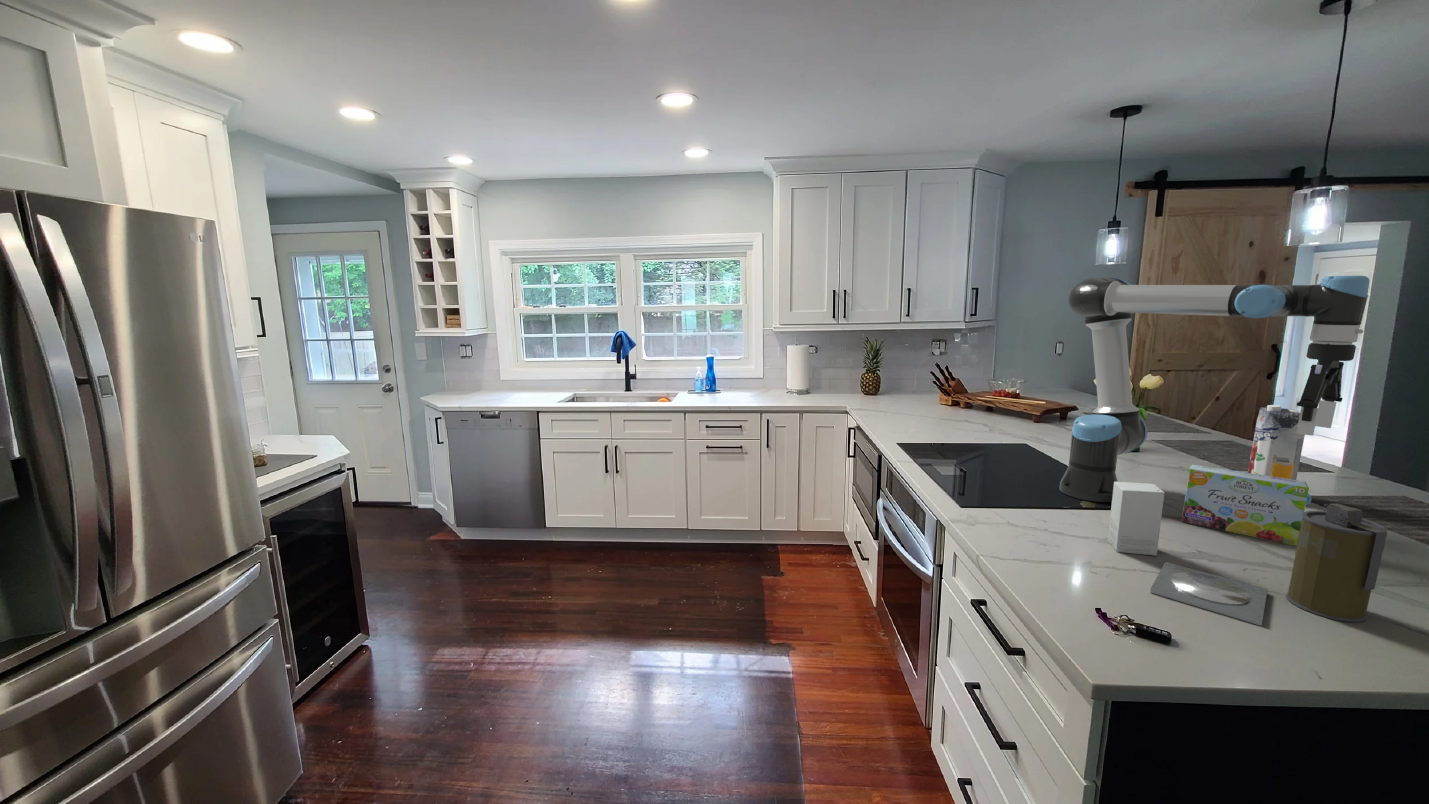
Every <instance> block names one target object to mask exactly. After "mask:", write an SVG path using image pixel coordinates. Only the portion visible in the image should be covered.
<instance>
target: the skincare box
mask: <svg viewBox="0 0 1429 804" xmlns="http://www.w3.org/2000/svg"><path fill="white" fill-rule="evenodd" d="M1165 494H1166V493H1165V491H1163V489H1161V488H1159V487H1158V486H1157V485H1156V484H1154V483H1143V482H1130V481H1129V482H1128V481H1127V482H1126V481H1118V482H1114V487H1113V497H1112V502H1111V506H1110V507H1111V509H1110V517H1109V526H1108V534H1107V542H1108V543H1109V544H1110V546H1111V547H1112V548H1113V549H1114V551H1115V552H1116V553H1123V554H1124V553H1126V554H1135V555H1144V556H1146V555H1147V556H1148V555H1149V556H1157V555H1158V548H1159V541H1160V532H1161V523H1162V514H1163V508H1164V501H1165Z"/></svg>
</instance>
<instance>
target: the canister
mask: <svg viewBox="0 0 1429 804" xmlns="http://www.w3.org/2000/svg"><path fill="white" fill-rule="evenodd" d="M1323 507H1324V508H1325V507H1327V508H1326V511H1324V510H1307V511H1306V510H1305V511H1304V512H1303V513H1302V517H1303V519H1302V524H1301V529H1300V534H1299V539H1298V543H1297V546H1296V549H1295V555H1294V560H1293V566H1292V570H1291V577H1290V582H1289V585H1288V590H1287V592H1286V594H1285V597H1286V599H1287V601H1289V602H1290V604H1293V605H1294V606H1296V607H1297V608H1299V609H1302V610H1304V611H1305V612H1308V613H1311V614H1314V615H1317V616H1319V617H1322V618H1326V619H1330V620H1334V621H1342V622H1349V623H1361V622H1364V621H1367V618H1368V614H1367V612H1368V606H1369V603H1370V597H1371V593H1372V590H1373V591H1374V590H1375V588H1376V584H1377V579H1378V575H1379V571H1380V566H1381V563H1382V562H1381V561H1382V557H1383V553H1384V549H1385V548H1384V547H1385V544H1386V540H1387V537H1388V535H1387V534H1388V533H1387V529H1386V527H1384V526H1383V525H1382V524H1379V523H1377V522H1375V521H1372V520H1369V519H1366V518H1363V510H1362V509H1359V508H1356V507H1350V506H1347V505H1344V504H1341V503H1325V504H1323Z"/></svg>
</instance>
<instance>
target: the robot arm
mask: <svg viewBox="0 0 1429 804" xmlns="http://www.w3.org/2000/svg"><path fill="white" fill-rule="evenodd" d="M1370 281H1371V280H1370V278H1369V276H1366V275H1326V276H1324V277H1322V279H1321V281H1320V282H1319V283H1318V284H1310V285H1309V284H1306V285H1305V284H1240V285H1239V284H1131V283H1129V282H1128V281H1126V280H1124V279H1120V278H1117V277H1101V278H1099V277H1091V278H1086V279H1083V280H1082V281H1079V282H1078V283H1077V284H1075V285H1074V286H1073V287H1072V289H1071V290H1070V291H1069V294H1068V306H1069V308H1070V309H1071V310H1072V312H1073V313H1074V314H1076V315H1077V316H1080V317H1083V318H1084V324H1085V326H1086V327H1087V328H1089V329H1090V330H1091V338H1092V349H1093V363H1094V371H1095V382H1096V383H1095V385H1096V396H1097V407H1096V408H1095V409H1094V410H1092V414H1084V415H1080V416H1078V417H1076V418H1075V420H1074V421H1073V425H1072V428H1071V438H1070V439H1071V440H1070V451H1069V459H1068V461H1069V462H1068V466H1067V468H1066V470H1065V472H1064V474H1063V476H1062V478H1061V479H1060V482H1059V491H1060V492H1061V493H1063V494H1064V495H1066V496H1069V497H1071V498H1075V499H1077V500H1084V501H1090V502H1097V503H1112V497H1113V487H1114V482H1119V481H1118V477H1117V474H1116V469H1117V464H1118V463H1117V462H1118V456H1120V455H1122V454H1128V453H1131V452H1134V451H1135V450H1137V449H1139V448H1140V447H1142V446H1143V444H1144V443H1146V440H1147V438H1148V427H1147V425H1146V423H1145V421H1144V420H1143V419H1141V417H1140V416H1141V415H1140V409H1139V408H1138V407H1137V406H1135V405H1134V404H1133V395H1132V386H1131V385H1132V384H1131V374H1130V373H1131V371H1130V361H1129V360H1130V359H1129V349H1128V338H1127V327H1126V326H1127V325H1128V324H1129V323H1130V322H1131V321H1132V314H1135V313H1136V314H1159V315H1160V314H1161V315H1162V314H1163V315H1183V316H1184V315H1186V316H1187V315H1188V316H1190V315H1192V316H1217V317H1237V318H1239V317H1241V318H1251V319H1265V318H1270V317H1313V322H1312V326H1311V331H1310V335H1309V341H1312V342H1310V343H1309V344H1308V346H1307V352H1306V355H1305V356H1306V358H1307V359H1309V360H1317V362H1316V364H1312V365H1311V366H1310V371H1309V375H1308V377H1307V380H1306V383H1305V385H1304V388H1303V392H1302V395H1301V397H1300V398H1299V399H1300V400H1299V401H1297V403H1296V407H1300V412H1299V413H1300V416H1299V421H1298V426H1297V431H1296V433H1298V434H1305V436H1306V435H1307V436H1311V437H1312V436H1314V433H1315V429H1316V427H1317V428H1318V427H1319V428H1324V429H1325V428H1327V429H1331V428H1332V426H1333V421H1334V416H1335V413H1336V412H1335V411H1336V407H1337V403H1339V402H1340V403H1342V401H1343V397H1342V395H1341V394H1342V379H1343V369H1344V365H1345V363H1344V362H1350V361H1353V360H1354V358H1355V355H1356V350H1357V349H1356V348H1357V346H1356V344H1354V343H1356V342H1358V338H1359V335H1360V334H1363V333H1364V330H1363V329H1362V328H1361V325H1362V321H1363V318H1364V313H1365V309H1366V305H1367V301H1368V299H1369V288H1370Z"/></svg>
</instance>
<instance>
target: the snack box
mask: <svg viewBox="0 0 1429 804" xmlns="http://www.w3.org/2000/svg"><path fill="white" fill-rule="evenodd" d="M1309 489H1310V488H1309V485H1308V483H1307V481H1305V480H1298V479H1296V480H1292V479H1285V478H1279V477H1272V476H1266V475H1259V474H1252V473H1248V472H1244V471H1240V470H1239V471H1238V470H1231V469H1226V468H1225V469H1224V468H1217V467H1213V466H1205V465H1199V464H1198V465H1197V464H1190V466H1189V470H1188V476H1187V485H1186V490H1185V497H1184V502H1183V508H1182V515H1181V521H1180V522H1181V523H1184V524H1190V525H1194V526H1199V527H1205V528H1209V529H1213V530H1214V529H1215V530H1219V531H1224V532H1227V531H1228V533H1232V532H1233V534H1237V533H1238V534H1237V535H1242V534H1243V536H1246V535H1247V537H1252V538H1256V537H1257V539H1261V538H1263V539H1262V540H1266V539H1267V541H1270V540H1272V541H1271V542H1275V541H1277V542H1276V543H1280V542H1281V544H1286V545H1289V546H1294V545H1295V546H1296V547H1297V544H1298V539H1299V534H1300V529H1301V524H1302V519H1303V517H1302V513H1303V512H1305V511H1306V510H1305V509H1306V506H1307V505H1306V501H1307V496H1308V493H1309Z"/></svg>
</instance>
